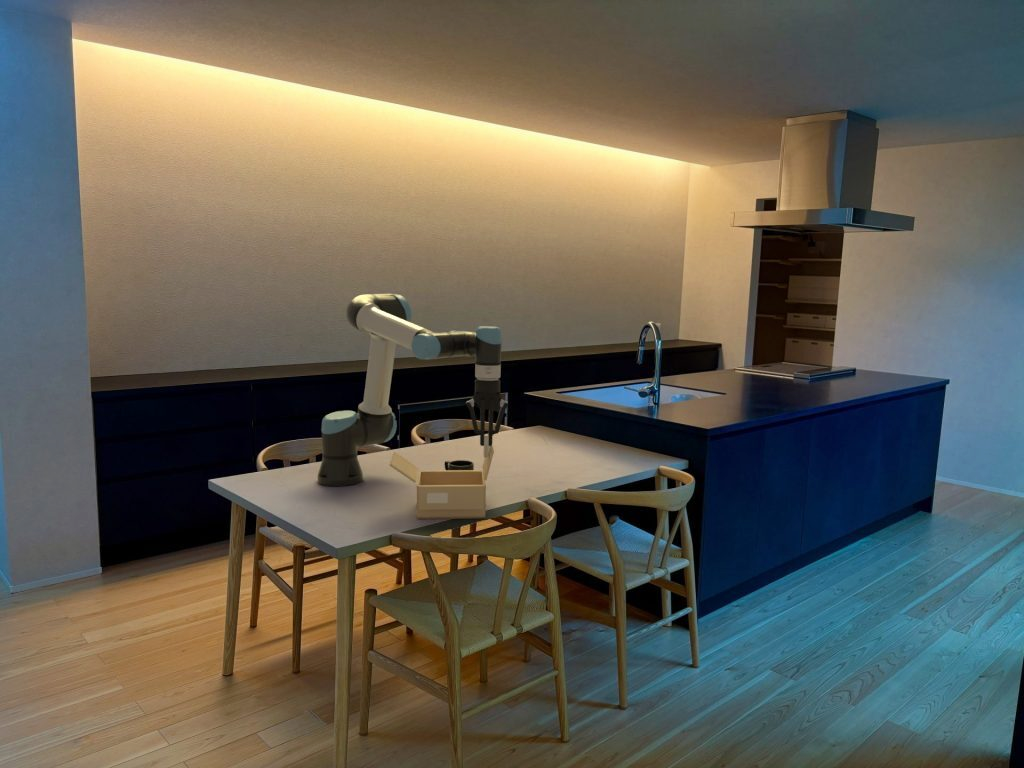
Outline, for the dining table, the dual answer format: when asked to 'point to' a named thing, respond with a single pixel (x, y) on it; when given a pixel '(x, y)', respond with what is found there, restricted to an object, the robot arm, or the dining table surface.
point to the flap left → (404, 467)
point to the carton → (451, 494)
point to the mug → (459, 465)
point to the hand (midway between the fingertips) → (485, 456)
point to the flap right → (487, 462)
